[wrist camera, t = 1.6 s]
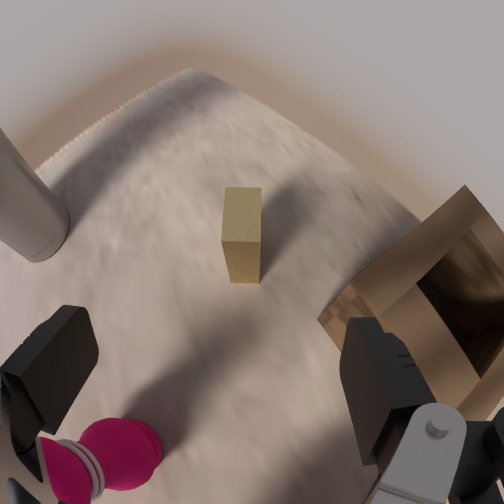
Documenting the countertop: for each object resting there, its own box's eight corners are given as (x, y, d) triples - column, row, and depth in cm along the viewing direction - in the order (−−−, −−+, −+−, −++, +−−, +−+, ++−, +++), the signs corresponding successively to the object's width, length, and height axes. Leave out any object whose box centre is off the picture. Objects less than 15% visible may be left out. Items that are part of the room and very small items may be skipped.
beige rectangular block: (233, 239, 35) (225, 187, 26) (260, 240, 35) (261, 187, 26) (230, 282, 33) (221, 241, 24) (259, 283, 33) (260, 241, 24)
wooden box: (317, 319, 31) (354, 277, 19) (410, 245, 34) (464, 184, 23) (395, 427, 26) (467, 441, 14) (477, 339, 29) (551, 310, 17)
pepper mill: (115, 403, 28) (-29, 401, 9) (176, 433, 27) (68, 489, 8) (97, 456, 25) (-39, 491, 7) (155, 488, 24) (51, 573, 6)
